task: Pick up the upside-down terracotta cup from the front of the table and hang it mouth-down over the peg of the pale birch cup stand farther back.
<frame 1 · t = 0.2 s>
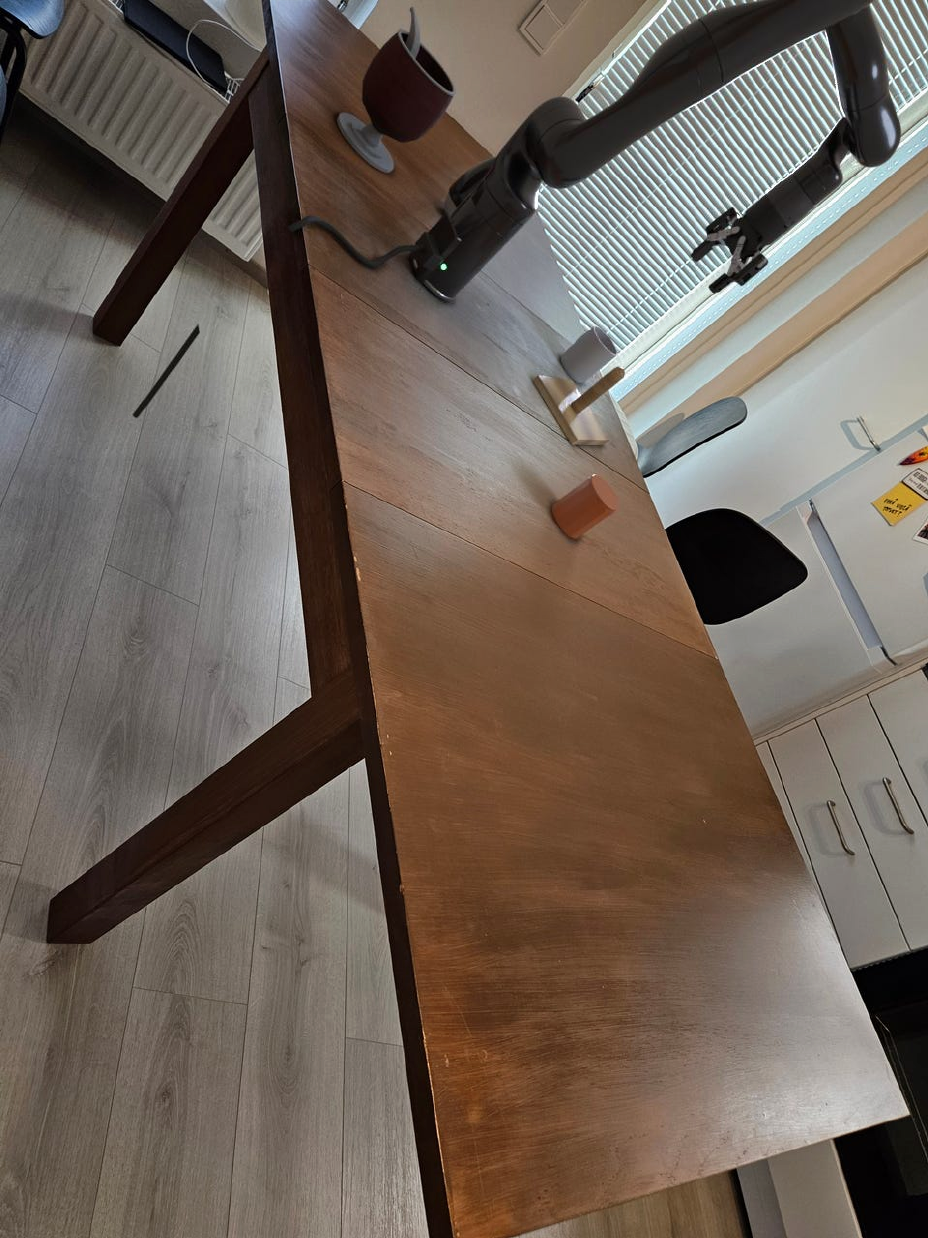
hand: (701, 274, 150), 29 cm above the table, tool pointing down, fingers open, 8 cm apart
cup: (569, 366, 163), on the table
cup stand: (568, 413, 149), on the table
terracotta cup: (565, 521, 124), on the table
mate gourd: (362, 141, 143), on the table
pump dispenser: (455, 223, 156), on the table
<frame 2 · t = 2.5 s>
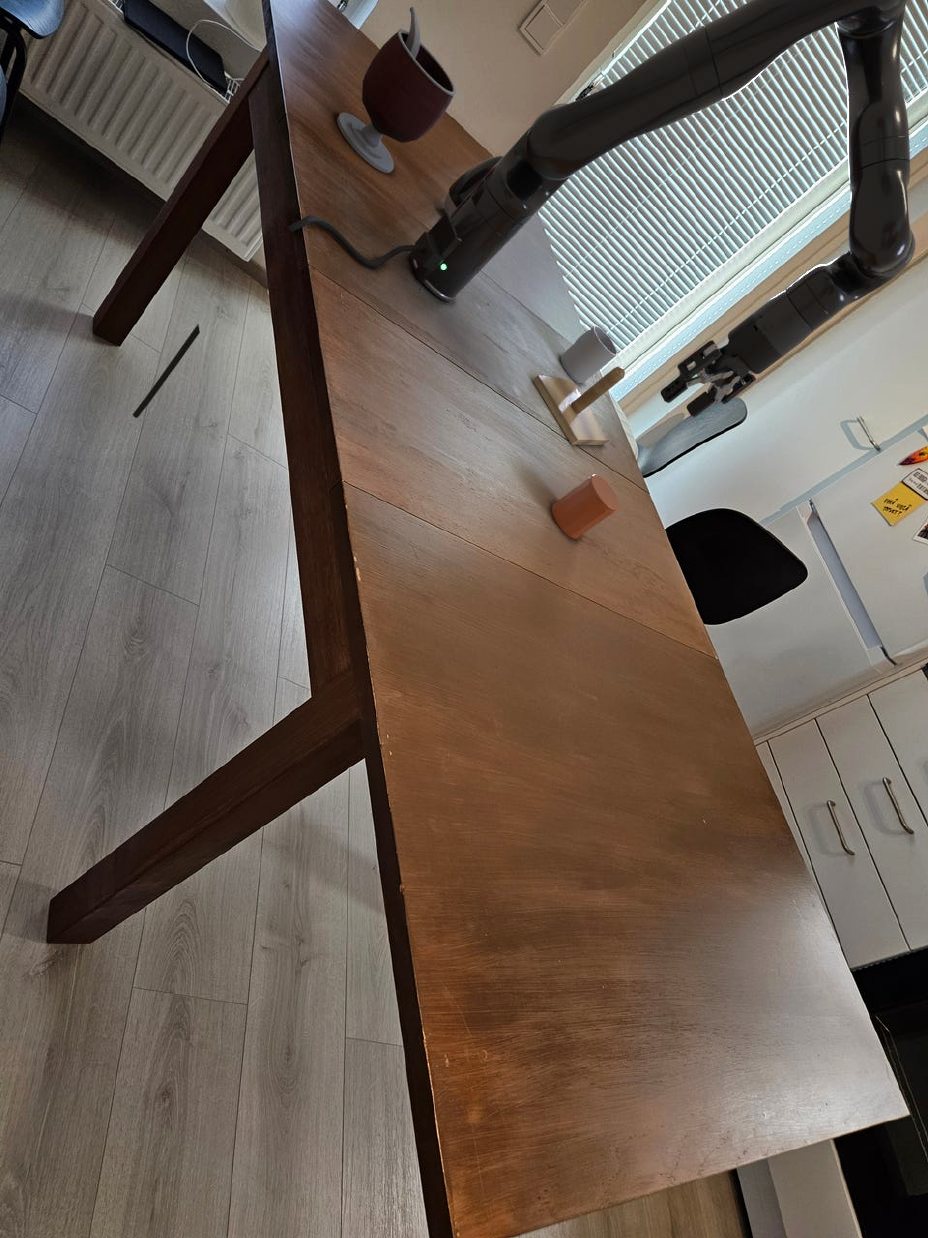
hand: (676, 405, 122), 21 cm above the table, tool pointing down, fingers open, 8 cm apart
nothing on the table moved.
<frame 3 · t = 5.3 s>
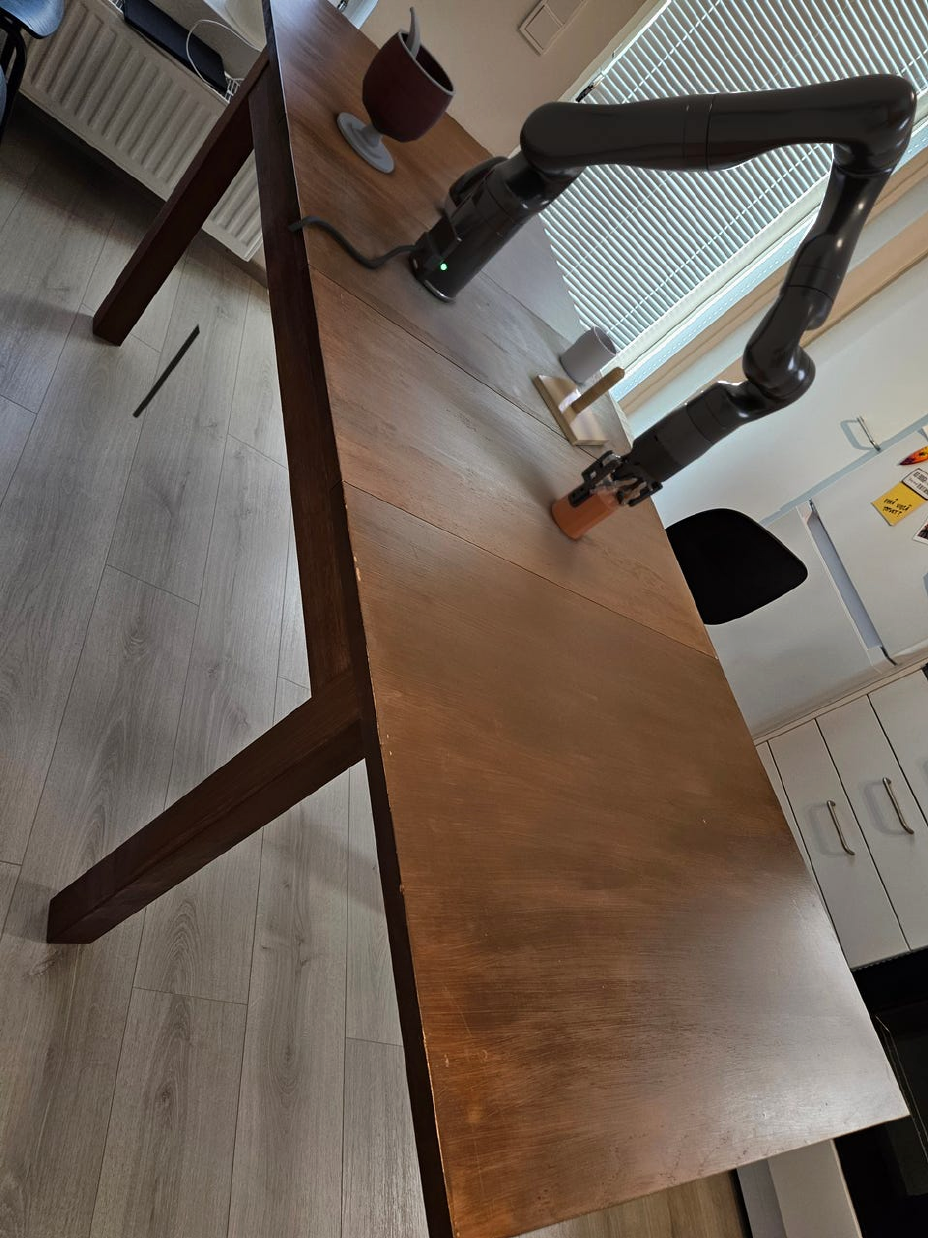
hand: (584, 507, 122), 4 cm above the table, tool pointing down, fingers closed on terracotta cup, 6 cm apart
terracotta cup: (565, 520, 124), on the table, touching gripper
everything else where it was.
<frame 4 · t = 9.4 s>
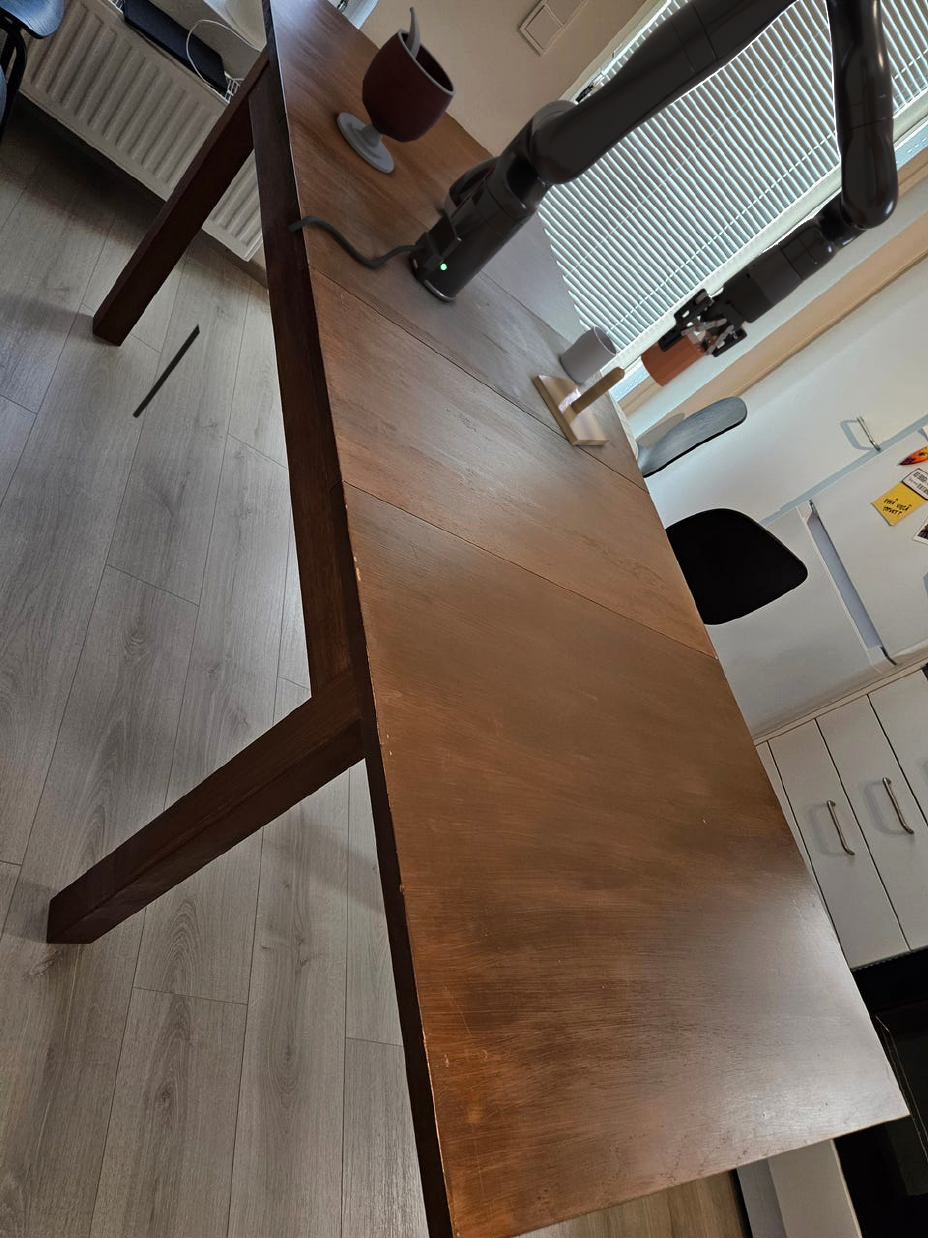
hand: (671, 355, 130), 22 cm above the table, tool pointing down, fingers closed on terracotta cup, 6 cm apart
terracotta cup: (652, 370, 132), point 19 cm above the table, touching gripper
everything else where it was.
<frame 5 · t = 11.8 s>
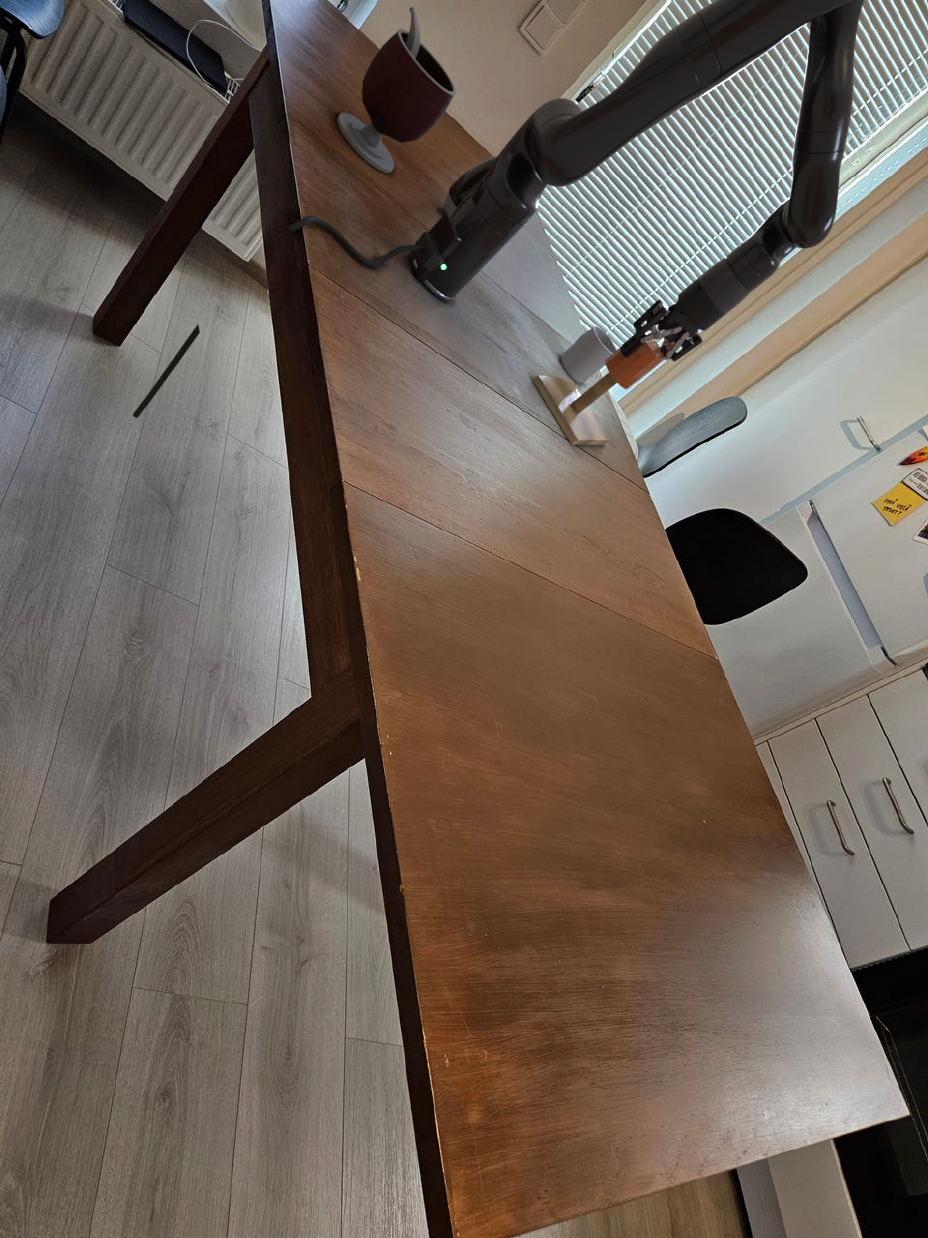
hand: (633, 360, 140), 15 cm above the table, tool pointing down, fingers closed on terracotta cup, 6 cm apart
terracotta cup: (616, 374, 142), point 11 cm above the table, touching gripper
everything else where it was.
when the fingers open (9 cm above the table, at t = 13.7 s): terracotta cup stays where it is, resting on cup stand.
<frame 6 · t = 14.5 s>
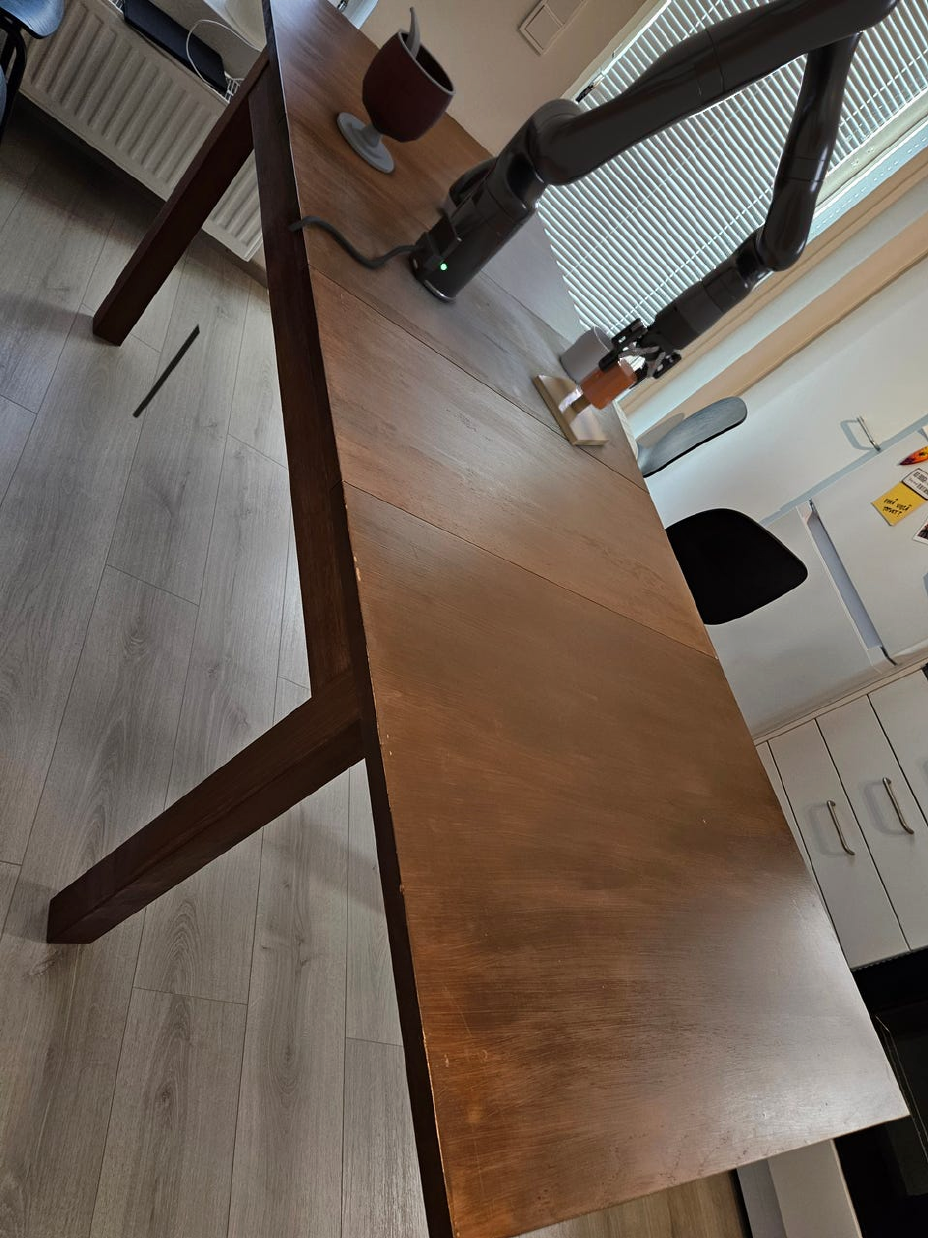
hand: (613, 376, 143), 11 cm above the table, tool pointing down, fingers open, 8 cm apart
terracotta cup: (591, 395, 146), point 5 cm above the table, touching cup stand
everything else where it was.
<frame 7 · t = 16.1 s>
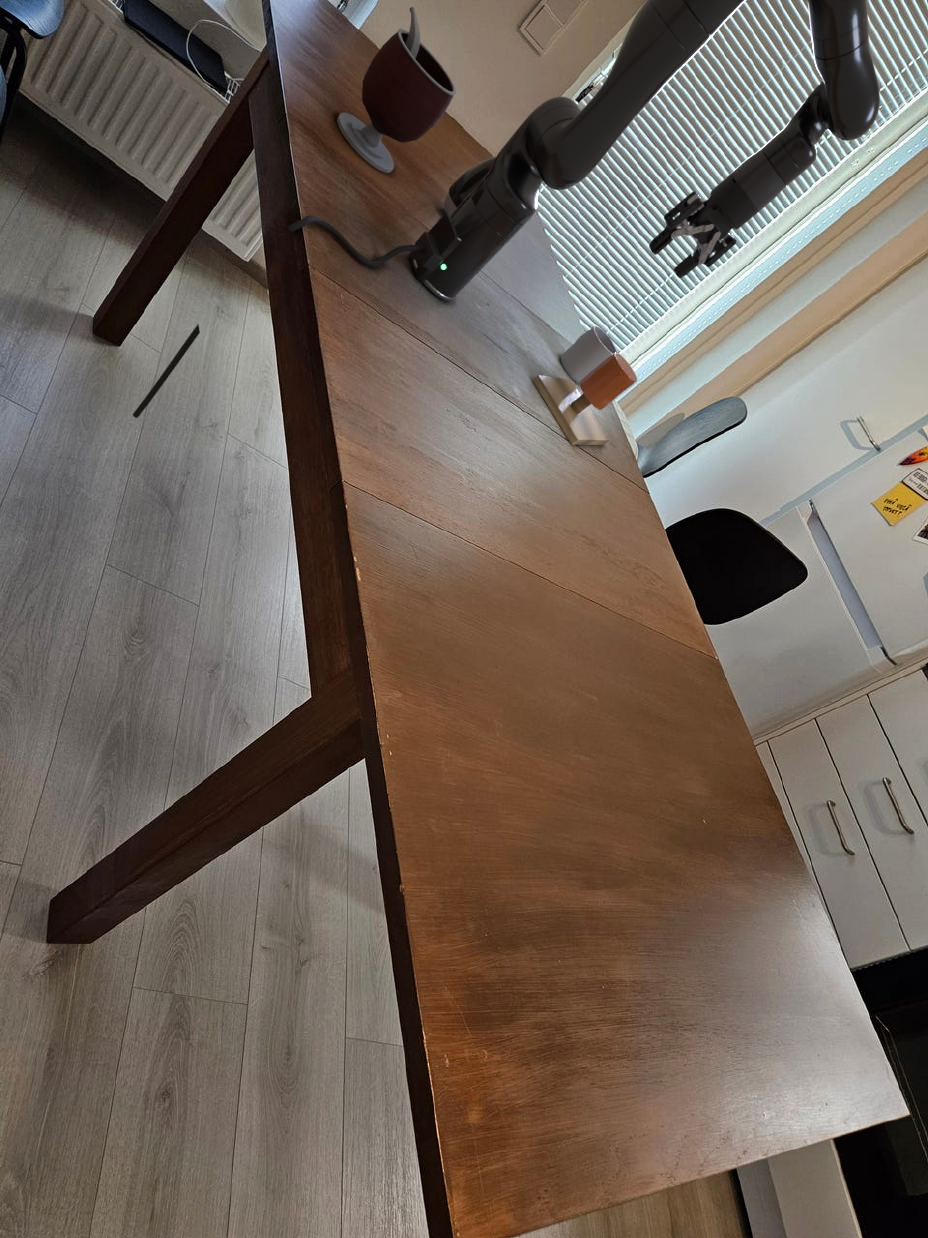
hand: (664, 262, 136), 28 cm above the table, tool pointing down, fingers open, 8 cm apart
nothing on the table moved.
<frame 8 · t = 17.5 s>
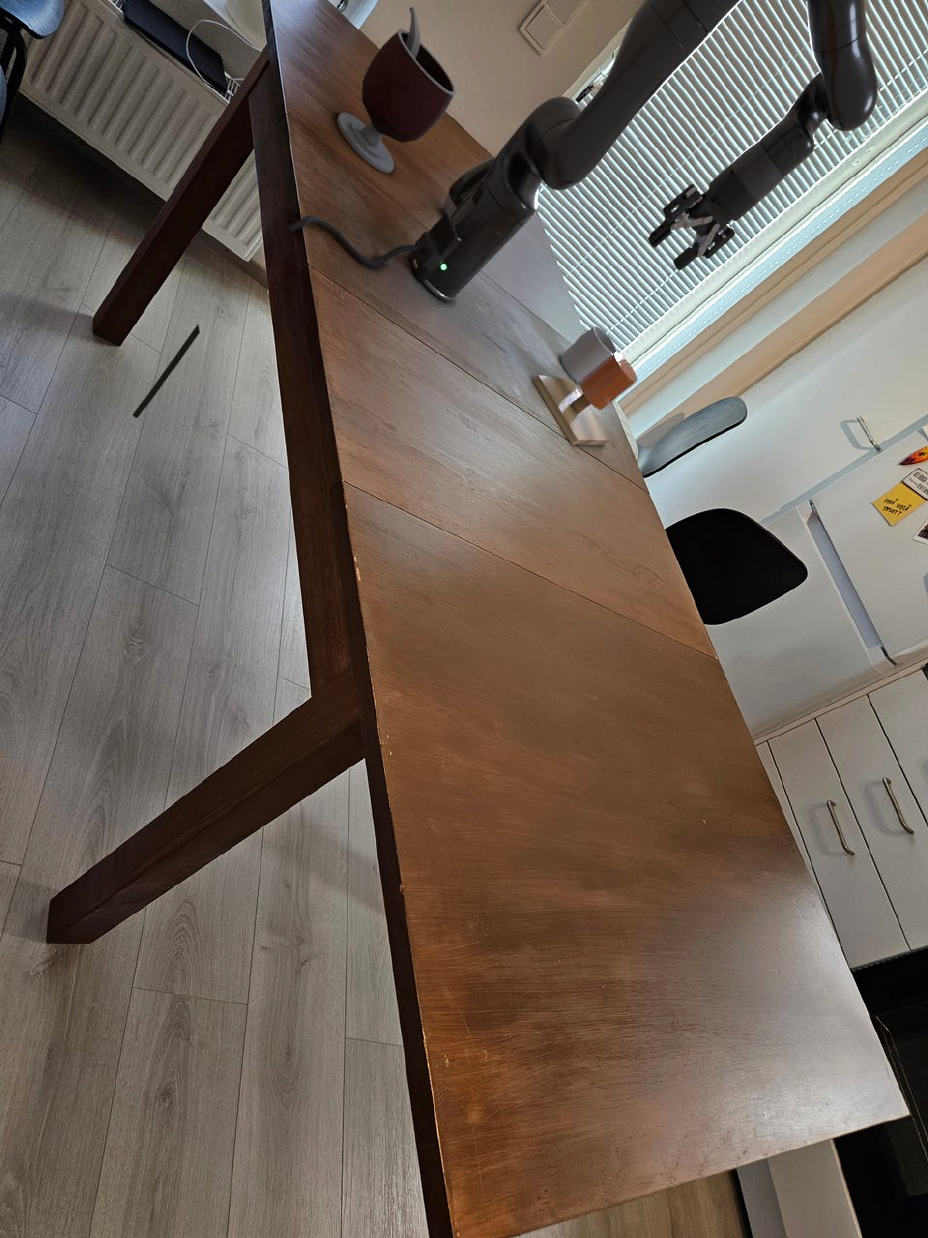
hand: (663, 254, 137), 28 cm above the table, tool pointing down, fingers open, 8 cm apart
nothing on the table moved.
at the end: terracotta cup 0.1 cm off-centre on the cup stand, point 5.4 cm above the cup stand's base; terracotta cup tilted 2°; the gripper is holding nothing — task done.
